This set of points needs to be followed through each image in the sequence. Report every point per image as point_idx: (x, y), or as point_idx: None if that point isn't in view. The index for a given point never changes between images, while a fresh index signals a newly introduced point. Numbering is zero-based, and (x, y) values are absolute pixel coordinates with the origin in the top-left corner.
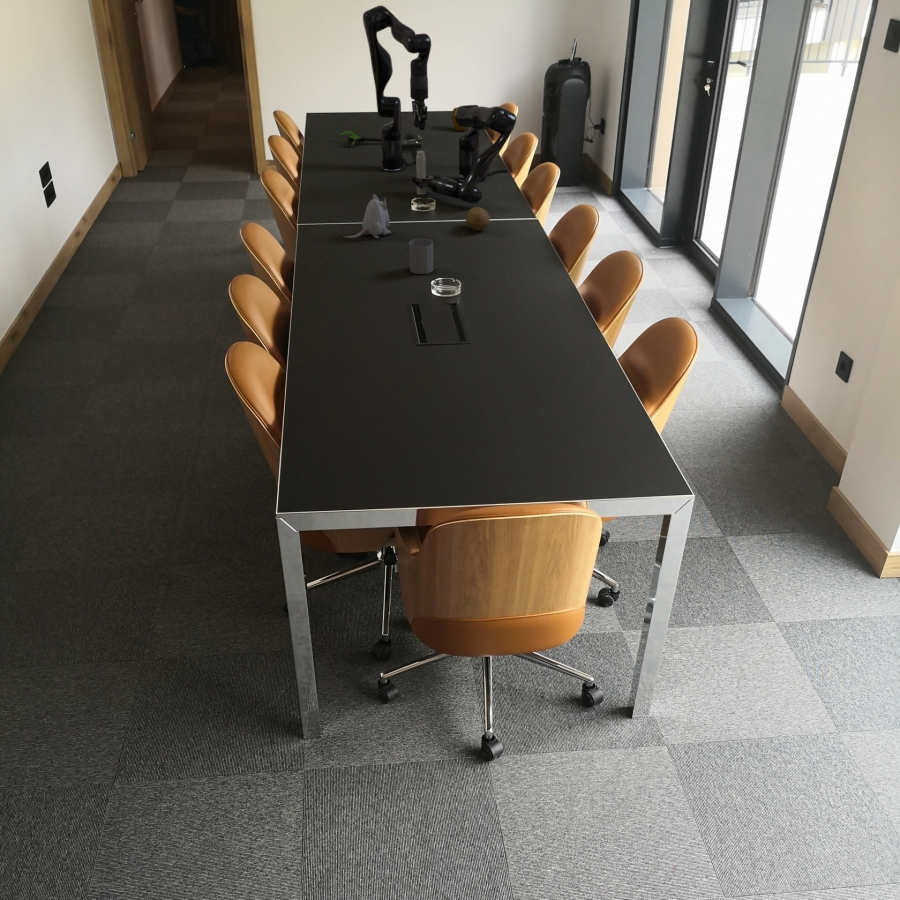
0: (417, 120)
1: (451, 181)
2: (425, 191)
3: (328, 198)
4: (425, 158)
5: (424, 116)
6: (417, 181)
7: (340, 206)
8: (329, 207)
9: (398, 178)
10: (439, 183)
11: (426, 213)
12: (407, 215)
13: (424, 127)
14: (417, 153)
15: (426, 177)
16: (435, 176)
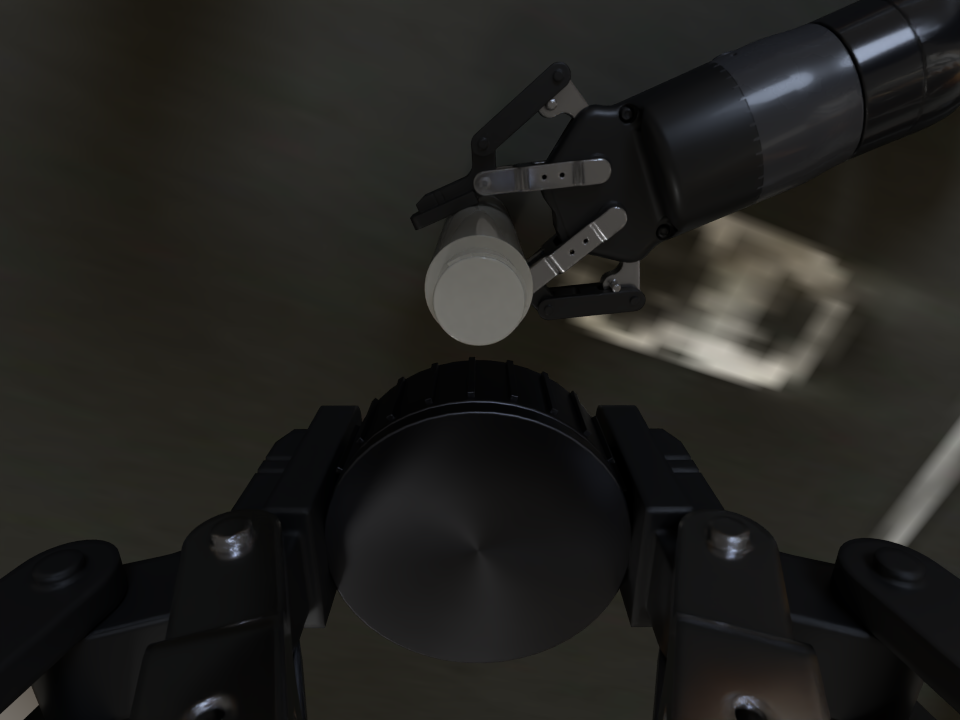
0: (406, 580)
1: (899, 100)
2: (504, 206)
3: (400, 676)
4: (513, 244)
5: (782, 622)
6: (587, 315)
7: (544, 660)
8: (539, 697)
9: (77, 257)
10: (782, 190)
11: (875, 333)
12: (844, 437)
13: (646, 425)
14: (486, 341)
15: (477, 198)
16: (693, 193)
